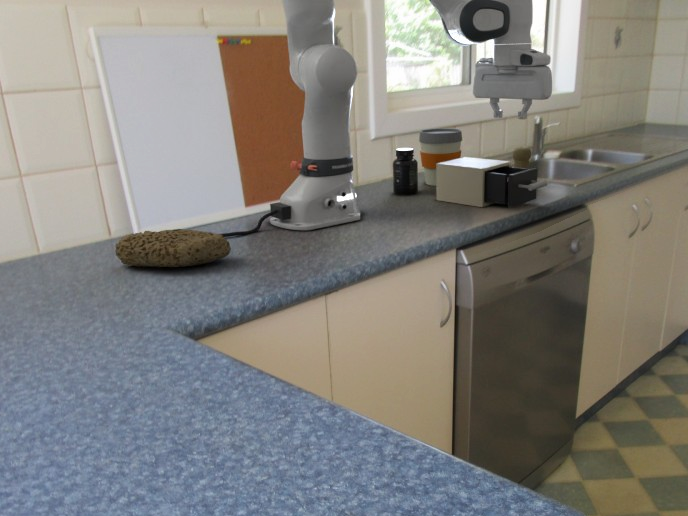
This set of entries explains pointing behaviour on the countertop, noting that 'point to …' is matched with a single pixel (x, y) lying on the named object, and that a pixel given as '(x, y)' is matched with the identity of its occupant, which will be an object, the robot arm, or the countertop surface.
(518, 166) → the cork
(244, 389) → the countertop surface
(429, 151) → the reusable coffee cup
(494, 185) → the drawer
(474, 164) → the cabinet
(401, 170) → the supplement bottle
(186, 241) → the sponge
